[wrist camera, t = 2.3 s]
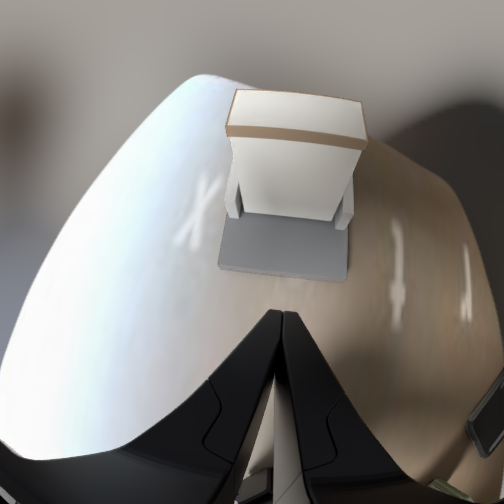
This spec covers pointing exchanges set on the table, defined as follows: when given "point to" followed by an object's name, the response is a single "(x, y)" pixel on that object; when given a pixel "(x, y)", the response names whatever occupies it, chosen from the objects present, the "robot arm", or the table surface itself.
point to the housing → (285, 240)
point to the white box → (294, 150)
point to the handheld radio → (448, 489)
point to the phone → (488, 420)
